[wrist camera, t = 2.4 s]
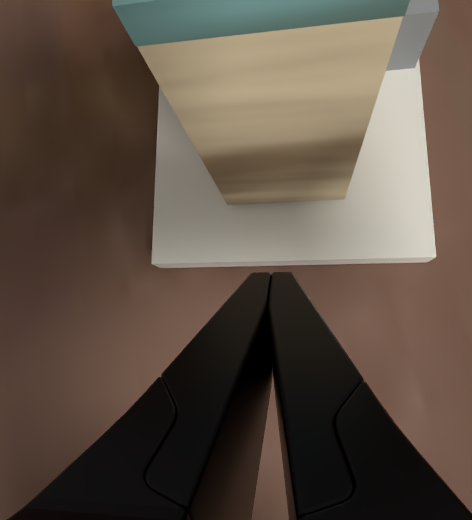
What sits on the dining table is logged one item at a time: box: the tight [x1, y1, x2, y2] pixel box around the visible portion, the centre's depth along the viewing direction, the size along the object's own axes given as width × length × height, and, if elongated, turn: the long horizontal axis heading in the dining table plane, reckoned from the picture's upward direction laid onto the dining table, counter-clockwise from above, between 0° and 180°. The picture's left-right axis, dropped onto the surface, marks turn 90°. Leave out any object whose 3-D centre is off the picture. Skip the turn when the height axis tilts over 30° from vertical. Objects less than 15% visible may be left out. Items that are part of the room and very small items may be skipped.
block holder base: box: [151, 0, 439, 268], centre depth 17 cm, size 14×12×4 cm
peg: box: [112, 0, 410, 205], centre depth 12 cm, size 5×5×11 cm
